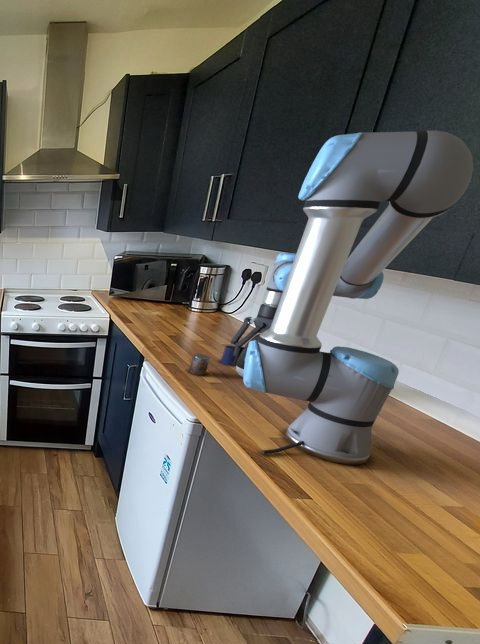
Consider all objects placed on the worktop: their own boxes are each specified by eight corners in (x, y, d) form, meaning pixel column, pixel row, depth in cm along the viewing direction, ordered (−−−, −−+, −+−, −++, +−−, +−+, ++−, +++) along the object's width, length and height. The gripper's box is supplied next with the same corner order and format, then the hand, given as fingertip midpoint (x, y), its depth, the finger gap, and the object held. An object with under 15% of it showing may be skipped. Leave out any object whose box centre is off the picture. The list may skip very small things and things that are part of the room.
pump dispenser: (276, 384, 130) (293, 339, 123) (244, 382, 130) (259, 338, 123) (256, 372, 139) (271, 330, 133) (226, 371, 139) (239, 328, 133)
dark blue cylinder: (231, 366, 143) (237, 350, 141) (217, 362, 147) (222, 346, 145) (238, 364, 146) (244, 348, 143) (225, 360, 150) (229, 344, 147)
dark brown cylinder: (199, 376, 133) (204, 360, 131) (185, 371, 137) (190, 355, 135) (208, 374, 136) (213, 357, 133) (193, 369, 140) (198, 353, 137)
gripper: (324, 312, 117) (296, 381, 127) (243, 296, 135) (223, 358, 144) (314, 314, 114) (285, 385, 123) (231, 298, 131) (212, 361, 140)
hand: (252, 371), depth 133 cm, fingers closed on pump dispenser, 10 cm apart
